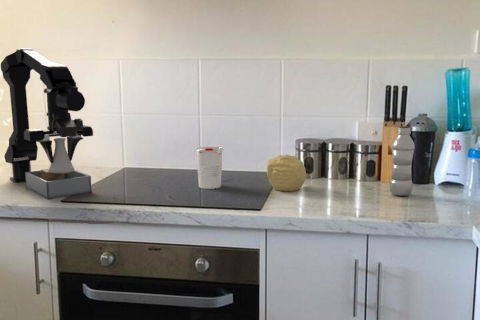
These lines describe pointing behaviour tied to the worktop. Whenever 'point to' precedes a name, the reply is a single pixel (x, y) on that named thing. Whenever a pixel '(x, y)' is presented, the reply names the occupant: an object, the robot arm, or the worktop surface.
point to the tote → (59, 184)
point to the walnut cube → (50, 175)
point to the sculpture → (286, 173)
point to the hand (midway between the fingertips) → (61, 161)
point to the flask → (60, 158)
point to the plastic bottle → (402, 162)
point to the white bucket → (209, 167)
